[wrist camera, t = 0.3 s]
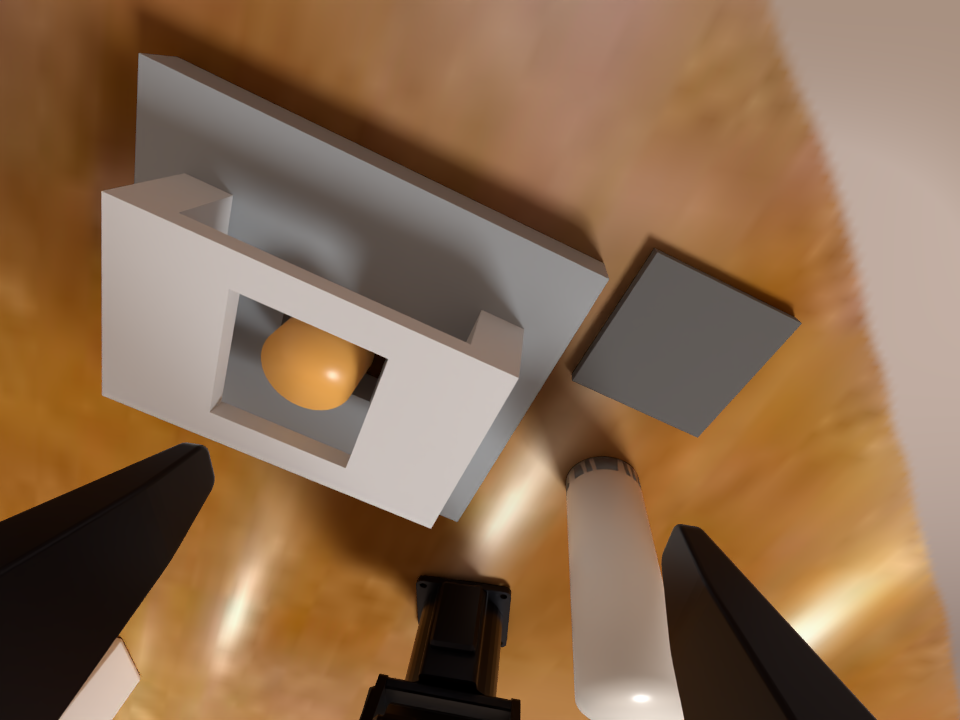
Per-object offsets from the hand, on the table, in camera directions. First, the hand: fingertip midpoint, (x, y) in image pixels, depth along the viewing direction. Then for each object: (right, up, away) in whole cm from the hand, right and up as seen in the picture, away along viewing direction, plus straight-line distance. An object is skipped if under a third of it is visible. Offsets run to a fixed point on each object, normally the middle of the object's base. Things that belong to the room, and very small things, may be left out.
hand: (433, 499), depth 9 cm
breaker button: (-6, +3, +12) cm, 14 cm away
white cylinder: (+8, -4, +17) cm, 20 cm away
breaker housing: (-6, +5, +14) cm, 16 cm away
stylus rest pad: (+10, +3, +13) cm, 17 cm away
